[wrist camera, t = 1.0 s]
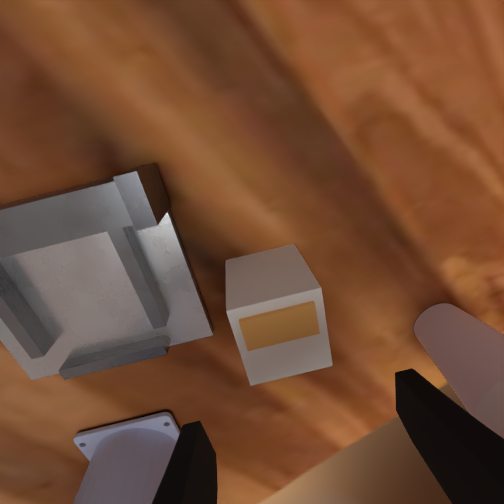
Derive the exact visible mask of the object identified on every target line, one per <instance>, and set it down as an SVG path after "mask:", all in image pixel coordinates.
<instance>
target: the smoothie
mask: <svg viewBox="0 0 504 504" xmlns="http://www.w3.org/2000/svg"><path fill="white" fill-rule="evenodd" d="M414 334H415V336H416V337H417V339H418V340H419V342H420V343H421V345H422V346H423V347H424V349H425V350H426V352H427V353H428V355H429V356H430V357H431V359H432V360H433V362H434V363H435V364H436V366H437V367H438V369H439V370H440V372H441V373H442V374H443V376H444V377H445V379H446V380H447V382H448V383H449V384H450V386H451V387H452V389H453V390H454V392H455V393H456V394H457V396H458V397H459V399H460V400H461V402H462V403H463V404H464V406H465V407H466V408H467V410H468V412H469V413H470V414H471V415H472V416H473V417H475V418H476V419H477V420H479V421H480V422H481V423H483V424H484V425H485V426H487V427H488V428H490V429H491V430H492V431H494V432H495V433H496V434H498V435H499V436H501V437H502V438H503V439H504V334H503V333H501V332H499V331H497V330H496V329H494V328H492V327H491V326H489V325H487V324H485V323H484V322H482V321H480V320H478V319H477V318H475V317H473V316H472V315H470V314H468V313H466V312H465V311H463V310H461V309H459V308H458V307H456V306H454V305H452V304H448V303H441V304H437V305H434V306H431V307H429V308H428V309H426V310H425V311H424V312H422V313H421V314H420V316H419V317H418V318H417V320H416V322H415V324H414Z"/></svg>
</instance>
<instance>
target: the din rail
mask: <svg viewBox="0 0 504 504" xmlns="http://www.w3.org/2000/svg"><path fill="white" fill-rule="evenodd" d="M170 207H171V205H170V202H169V199H168V196H167V194H166V191H165V188H164V185H163V182H162V180H161V177H160V174H159V171H158V168H157V166H156V163H155V162H154V163H150V164H146V165H142V166H139V167H135V168H133V169H131V170H128V171H126V172H124V173H121V174H119V175H117V176H113V177H109V178H105V179H101V180H97V181H93V182H89V183H85V184H81V185H77V186H73V187H69V188H65V189H61V190H57V191H53V192H49V193H45V194H42V195H38V196H34V197H30V198H26V199H22V200H18V201H14V202H10V203H6V204H2V205H0V340H1V342H2V343H3V344H4V346H5V347H6V348H7V349H8V351H9V352H10V353H11V354H12V356H13V357H14V358H15V360H16V361H17V362H18V363H19V365H20V366H21V367H22V368H23V370H24V371H25V372H26V374H27V375H28V376H29V377H30V379H31V380H34V379H38V378H42V377H46V376H50V375H54V374H58V373H60V374H61V376H62V377H63V378H64V380H65V379H69V378H73V377H77V376H81V375H85V374H89V373H93V372H97V371H101V370H105V369H109V368H113V367H117V366H122V365H126V364H130V363H134V362H138V361H142V360H146V359H150V358H154V357H158V356H162V355H166V354H167V353H168V349H169V346H172V345H176V344H180V343H184V342H188V341H192V340H196V339H200V338H205V337H209V336H213V328H212V325H211V322H210V319H209V317H208V314H207V311H206V308H205V306H204V303H203V300H202V297H201V295H200V292H199V289H198V286H197V284H196V281H195V278H194V275H193V273H192V270H191V267H190V264H189V262H188V259H187V256H186V253H185V251H184V248H183V245H182V242H181V240H180V237H179V234H178V231H177V229H176V226H175V223H174V220H173V218H172V215H171V212H170Z"/></svg>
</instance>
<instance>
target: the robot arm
mask: <svg viewBox="0 0 504 504" xmlns="http://www.w3.org/2000/svg"><path fill="white" fill-rule="evenodd" d="M395 386H396V411H397V413H398V415H399V417H400V419H401V421H402V423H403V425H404V427H405V429H406V430H407V432H408V434H409V436H410V438H411V440H412V442H413V443H414V445H415V447H416V448H417V449H418V451H419V453H420V454H421V456H422V458H423V459H424V461H425V462H426V464H427V465H428V467H429V468H430V470H431V472H432V473H433V474H434V476H435V478H436V479H437V481H438V482H439V484H440V485H441V487H442V489H443V490H444V492H445V493H446V495H447V496H448V498H449V499H450V501H451V502H452V504H504V439H503V438H502V437H501V436H499V435H498V434H496V433H495V432H494V431H492V430H491V429H490V428H488V427H487V426H485V425H484V424H483V423H481V422H480V421H479V420H477V419H476V418H475V417H473V416H472V415H471V414H469V413H468V412H467V411H465V410H464V409H463V408H461V407H460V406H459V405H457V404H456V403H455V402H454V401H452V400H451V399H450V398H449V397H447V396H446V395H445V394H443V393H442V392H441V391H440V390H438V389H437V388H436V387H435V386H433V385H432V384H431V383H430V382H429V381H427V380H426V379H425V378H424V377H422V376H421V375H420V374H419V373H418V372H416V371H415V370H414V369H408V370H404V371H400V372H396V373H395ZM73 441H74V443H75V444H76V445H77V447H78V448H79V449H80V450H81V452H82V453H83V454H84V455H85V457H86V458H87V459H88V460H89V462H90V463H89V465H88V468H87V470H86V473H85V475H84V478H83V480H82V482H81V485H80V487H79V490H78V492H77V495H76V497H75V500H74V502H73V504H217V464H216V453H215V451H214V449H213V447H212V445H211V443H210V441H209V438H208V436H207V434H206V432H205V430H204V428H203V426H202V424H201V422H200V421H197V422H193V423H189V424H185V425H183V426H182V428H181V431H180V430H179V428H178V426H177V424H176V423H175V421H174V419H173V417H172V415H171V414H170V413H168V412H162V413H158V414H154V415H150V416H146V417H142V418H138V419H133V420H129V421H125V422H121V423H117V424H113V425H109V426H105V427H101V428H97V429H92V430H88V431H84V432H80V433H77V434H76V435H75V437H74V439H73Z"/></svg>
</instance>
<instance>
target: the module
mask: <svg viewBox="0 0 504 504" xmlns="http://www.w3.org/2000/svg"><path fill="white" fill-rule="evenodd" d="M226 312H227V316H228V319H229V322H230V325H231V328H232V331H233V334H234V337H235V340H236V343H237V346H238V349H239V352H240V355H241V358H242V361H243V364H244V367H245V370H246V373H247V376H248V380H249V383H250V386H252V385H256V384H260V383H264V382H269V381H273V380H277V379H281V378H285V377H289V376H293V375H297V374H301V373H305V372H309V371H314V370H318V369H322V368H326V367H330V366H333V365H332V358H331V351H330V344H329V337H328V330H327V324H326V317H325V310H324V303H323V296H322V290H321V286H320V285H319V283H318V282H317V280H316V278H315V277H314V275H313V273H312V272H311V270H310V269H309V267H308V265H307V264H306V262H305V260H304V259H303V257H302V256H301V254H300V252H299V251H298V249H297V247H296V246H295V244H290V245H286V246H282V247H278V248H274V249H270V250H266V251H262V252H257V253H253V254H249V255H245V256H241V257H237V258H233V259H229V260H226Z"/></svg>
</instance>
